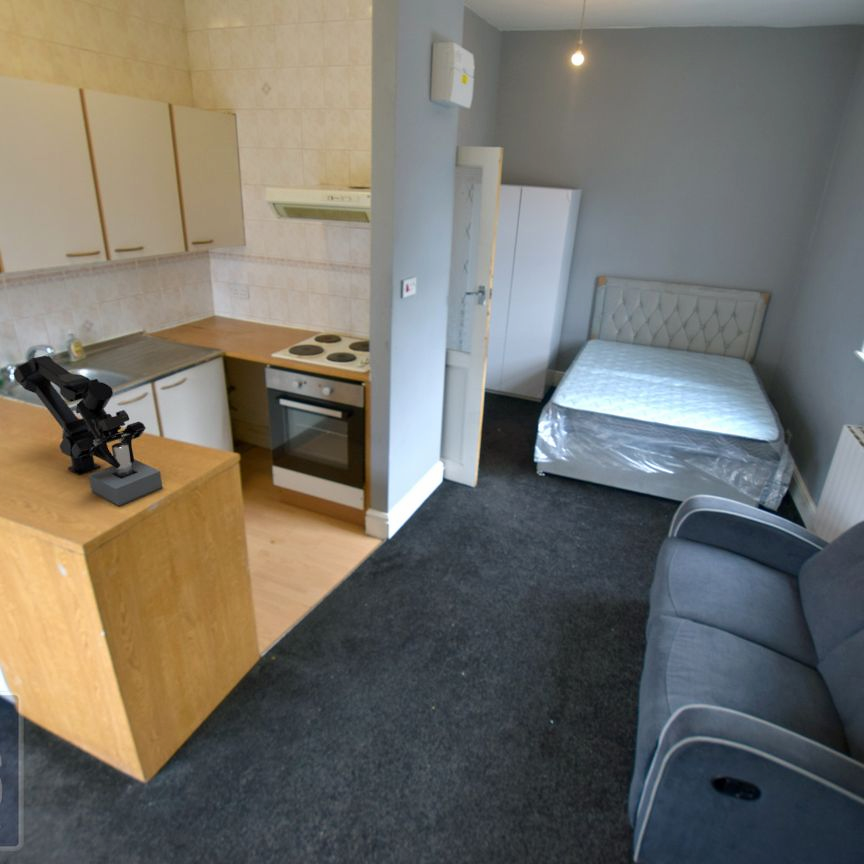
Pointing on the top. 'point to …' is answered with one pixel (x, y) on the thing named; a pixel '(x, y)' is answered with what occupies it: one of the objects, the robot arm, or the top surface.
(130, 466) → the aluminium peg
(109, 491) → the slate socket block
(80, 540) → the top surface
